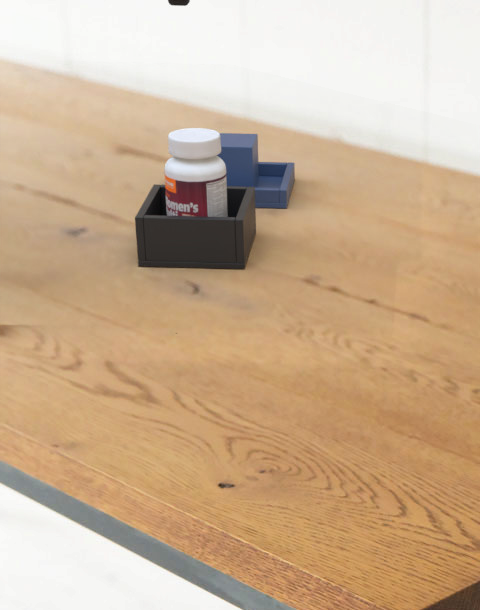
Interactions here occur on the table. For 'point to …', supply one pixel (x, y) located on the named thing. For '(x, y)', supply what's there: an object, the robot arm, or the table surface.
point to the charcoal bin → (196, 233)
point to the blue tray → (274, 184)
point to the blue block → (240, 158)
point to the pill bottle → (195, 174)
